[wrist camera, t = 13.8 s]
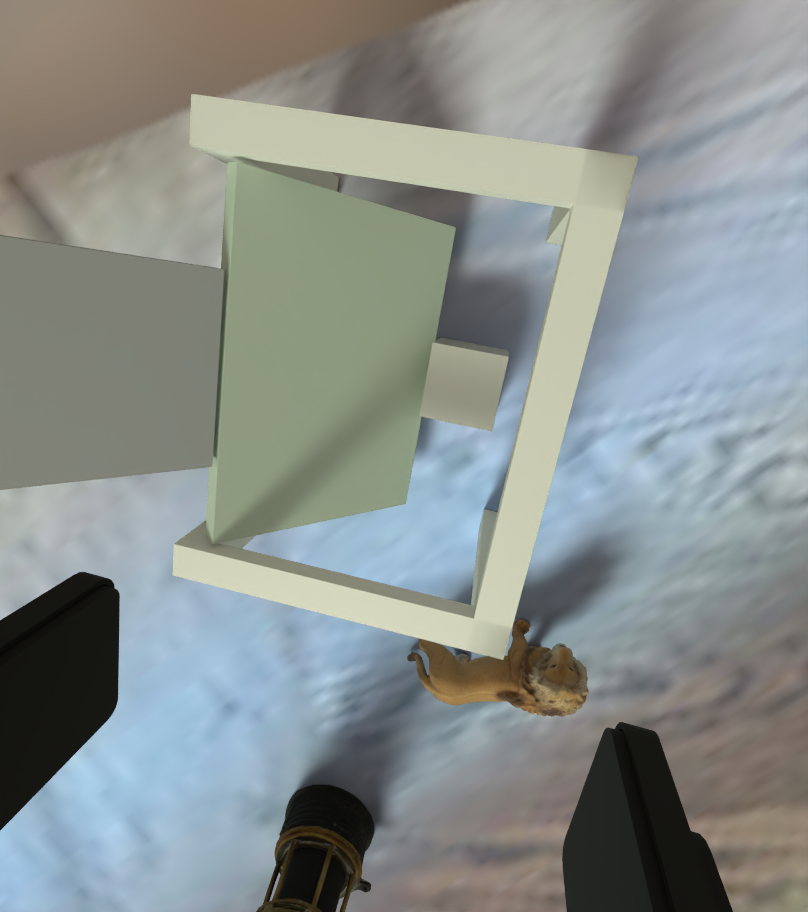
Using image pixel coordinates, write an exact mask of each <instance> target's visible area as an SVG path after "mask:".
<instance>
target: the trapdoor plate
mask: <svg viewBox="0 0 808 912" xmlns="http://www.w3.org/2000/svg"><path fill="white" fill-rule="evenodd" d="M455 230H456V227H453V226H450V225H446V224H443V223H440V222H436V221H433V220H430V219H426V218H423V217H420V216H416V215H413V214H410V213H406V212H403V211H400V210H396V209H393V208H390V207H386V206H383V205H380V204H376V203H373V202H370V201H366V200H363V199H360V198H356V197H353V196H349V195H346V194H343V193H339V192H336V191H333V190H329V189H326V188H323V187H319V186H316V185H313V184H309V183H306V182H303V181H299V180H296V179H293V178H289V177H286V176H283V175H279V174H276V173H273V172H269V171H266V170H263V169H259V168H256V167H253V166H249V165H246V164H243V163H239V162H228V163H227V176H226V193H225V210H224V227H223V244H222V261H221V269H219V268H214V267H207V266H201V265H194V264H187V263H181V262H174V261H168V260H161V259H155V258H148V257H141V256H135V255H128V254H122V253H115V252H109V251H102V250H95V249H89V248H82V247H76V246H69V245H63V244H56V243H49V242H43V241H36V240H30V239H23V238H16V237H10V236H3V235H0V490H3V489H13V488H22V487H31V486H40V485H49V484H59V483H68V482H77V481H86V480H95V479H105V478H114V477H123V476H132V475H141V474H151V473H160V472H169V471H178V470H187V469H197V468H206V467H209V482H208V499H207V516H206V533H205V537H206V538H207V539H208V540H209V541H210V542H211V543H212V544H217V543H222V542H227V541H231V540H236V539H241V538H246V537H250V536H255V535H260V534H265V533H270V532H274V531H279V530H284V529H289V528H293V527H298V526H303V525H308V524H312V523H317V522H322V521H327V520H331V519H336V518H341V517H346V516H350V515H355V514H360V513H365V512H369V511H374V510H379V509H384V508H388V507H393V506H398V505H403V504H406V499H407V494H408V488H409V483H410V477H411V472H412V466H413V461H414V455H415V450H416V444H417V439H418V433H419V428H420V423H421V417H420V416H419V415H420V410H421V404H422V398H423V393H424V387H425V382H426V376H427V371H428V365H429V360H430V354H431V349H432V343H433V342H434V341H435V340H436V335H437V329H438V324H439V318H440V313H441V307H442V302H443V296H444V291H445V285H446V280H447V274H448V269H449V263H450V258H451V252H452V247H453V241H454V236H455Z"/></svg>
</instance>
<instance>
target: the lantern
mask: <svg viewBox="0 0 808 912" xmlns="http://www.w3.org/2000/svg"><path fill="white" fill-rule="evenodd" d="M373 831H374V826H373V820H372V816H371V815H370V813H369V812H368V810H367V808H366V807H365V805H364V804H363V803H362V802H361V801H360V800H359V799H357V798H356V797H355V796H354V795H352V794H350V793H349V792H347V791H345V790H343V789H340V788H337V787H334V786H330V785H312V786H309V787H306V788H303V789H301V790H299V791H298V792H296V793H295V794H294V796H293V797H292V798H291V799H290V801H289V803H288V806H287V809H286V815H285V821H284V824H283V827H282V830H281V832H280V838H279V840H278V842H277V844H276V848H275V860H276V867H275V870H274V873H273V875H272V878H271V881H270V884H269V887H268V890H267V893H266V896H265V899H264V903H263V905H262V906H261V907H259V908H258V910H257V911H256V912H336V908H337V904H338V901H339V899H340V898H342V897H344V900H343V903H342V906H341V909H340V912H345V909H346V906H347V903H348V899H349V896H350V892H353V891H355V890H358V889H359V890H361V891H364V892H368V891H370V889H371V884H370V883H369V882H367V881H365V880H363V879H362V878H361V875H362V863H363V858H364V854H365V851H366V850H367V849H368V848H369V846H370V844H371V841H372V837H373ZM278 873H280V875H281V876H280V879H279V882H278V885H277V888H276V891H275V894H274V897H273V899H272V901H269V900H270V897H271V894H272V891H273V887H274V884H275V881H276V879H277V876H278Z"/></svg>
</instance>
